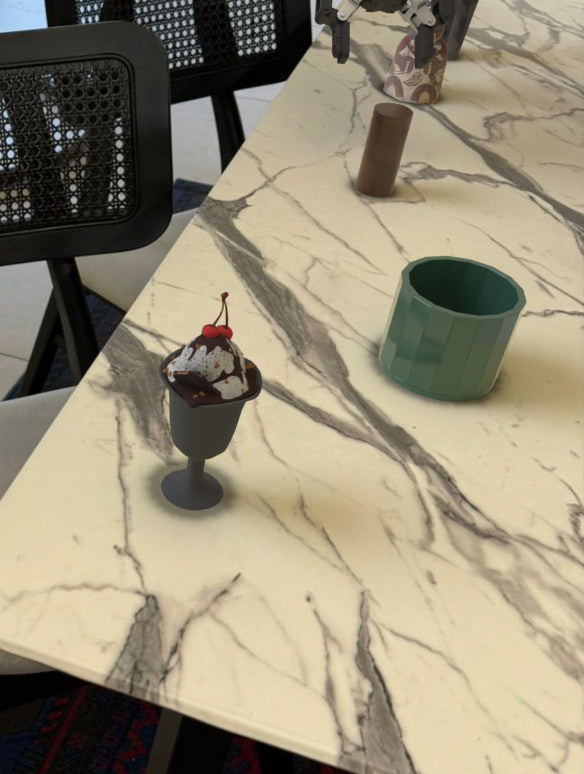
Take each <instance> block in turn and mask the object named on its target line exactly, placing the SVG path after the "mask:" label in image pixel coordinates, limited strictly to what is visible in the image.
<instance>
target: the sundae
mask: <svg viewBox="0 0 584 774" xmlns="http://www.w3.org/2000/svg"><path fill="white" fill-rule="evenodd" d="M229 296H230V295H229V292H228V291H224V292H223V293H221V294H220V297H221V310H220V312H219V315H217V317H216V319H215V320H214V321H213V323H206V324H204V325H203V327H202V328H201V331H200V334H199V335H197V336H195V337H194V338H192V339H190V341H188V342H187V343H186V344H184V345H182V346H181V347H179V348H178V349H176V350H174V351H172V352H171V353H169V354H168V355H167V356H166V357H165V358H164V359H163V361H161V363H159V367H158V376H159V378H160V380H161V381H162V383H163V384H164V386H165V387H166V388H167V390H168V399H169V400H168V405H169V407H168V416H169V420H168V421H169V431H170V436H171V442H172V443H173V445H174V446H175V447H176V449H177V450H178V451H179V452H180V453H181V454H182V455H184V456H185V457H187V463H186V468H181V469H177V470H173V471H171V472H169V473H168V474H165V476H164V477H163V478H162V480H161V482H160V490H161V493H162V495H163V496H164V498H165V499H166V501H168V502H169V503H170V504H172V505H173V506H175V507H177V508H180V509H182V510H187V511H193V512H194V511H195V512H197V511H198V512H199V511H203V510H210V509H211V508H214V507H216V506H217V505H218V504H220V502H221V501H222V500H223V497H224V488H223V486H222V485H221V483H220V482H219V480H218V479H217V478H216V477H215V476H213V475H212V474H210V473H209V472H207V471H205V464H206V461H207V460H210V459H211V460H212V459H213V458H215V457H218V456H220V455H222V454H224V453H225V452H226V451H227V449H228V448H229V445H230V443H231V441H232V439H233V437H234V435H235V432H236V429H237V427H238V423H239V422H240V417H241V415H242V412H243V409H244V408H245V405H246V404H247V402H250V401H253V400H255V399H257V398H258V397H260V394H261V392H262V389H263V378H262V372H261V370H260V369H259V367H258V366H257V365H256V364H255V363H254V362H253V361H252V360H251V359H249V358H247V357H245V356H244V353H243V352H242V349H240V347H239V346H238V344H237V343H235V342H234V341H233V340H231V339H232V338H233V336H234V332H233V329H232V327H230V326H229V310H228V305H227V302H226V299H227V298H228V297H229ZM224 309H225V310H224ZM223 312H225V313H224V314H225V318H224V319H225V322H224V323H225V324H219V325H217V323H218V322H219V320H220V318H221V317H222V315H223ZM216 325H217V326H216Z"/></svg>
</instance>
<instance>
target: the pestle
mask: <svg viewBox="0 0 584 774" xmlns="http://www.w3.org/2000/svg"><path fill="white" fill-rule="evenodd" d="M413 117H414V111H413V109H411V108H410V107H409V106H406V105H404V104H400V103H396V102H379V103H377V104H375V105H374V107H373V111H372V114H371V119H370V123H369V127H368V131H367V135H366V140H365V144H364V148H363V152H362V156H361V161H360V165H359V168H358V173H357V176H356V180H355V184H354V188H355V190H356V191H357V192H359V194H362V195H364V196H367V197H372V198H381V199H382V198H387V197H390V196H392V194H393V190H394V187H395V184H396V180H397V177H398V172H399V169H400V165H401V161H402V158H403V153H404V149H405V146H406V142H407V138H408V135H409V131H410V129H411V124H412V120H413Z"/></svg>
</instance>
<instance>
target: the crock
mask: <svg viewBox="0 0 584 774" xmlns="http://www.w3.org/2000/svg"><path fill="white" fill-rule="evenodd" d="M527 303H528V301H527V297H526V293H525V290H524V288H523V287H522V286H521V285H520V284H519V283H518V282H517V281H516V280H515V279H514V278H513V277H512V276H511V275H509V274H507V273H505V272H504V271H501V270H500V269H498V268H497V267H495V266H493V265H489V264H487V263H483V262H480V261H477V260H474V259H471V258H466V257H457V256H451V255H433V256H424V257H421V258H418V259H415V260H412V261H409V262H408V264H407V265H406V266H405V267H404V268H403V269H402V270H401V271H400V275H399V279H398V281H397V285H396V289H395V291H394V295H393V299H392V302H391V305H390V306H391V307H390V309H389V313H388V316H387V319H386V323H385V327H384V330H383V333H382V337H381V341H380V344H379V350H378V351H379V352H378V356H377V357H378V363H379V366H380V368H381V370H382V371H383V372H384V373H385V375H386V376H387V377H388V378H389V379H390V380H392V381H393V382H394V383H396V384H397V385H399V386H400V387H401V388H403V389H406V390H407V391H409V392H412V393H413V394H417V395H419V396H421V397H425V398H429V399H432V400H437V401H438V400H439V401H443V402H444V401H445V402H466V401H467V402H468V401H472V400H476V399H479V398H481V397H483V396H485V395H486V394H488V393H489V392H490V391H491V390H492V389H493V387H494V385H495V382H496V381H497V379H498V377H499V374H500V371H501V369H502V367H503V364H504V361H505V359H506V357H507V354H508V351H509V349H510V346H511V344H512V341H513V339H514V336H515V334H516V331H517V328H518V326H519V323H520V320H521V319H522V316H523V313H524V311H525V308H526V306H527Z"/></svg>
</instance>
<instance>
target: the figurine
mask: <svg viewBox="0 0 584 774" xmlns="http://www.w3.org/2000/svg"><path fill="white" fill-rule="evenodd" d="M425 1H426V6H427V7H428V9H429V10H430V11H431V0H425ZM431 13H432V11H431ZM445 27H446V26H445ZM445 27H444V29H443V30H442V31H441V32H434V44H433V45H434V53H433V56H432V58H431V59H430V60H429V62H428V63H427V64H426V65H425V66H424V67H423V69H415V36H416V35H417V33H416V32H415V30H414V29H413V30H412V31H410V32H408V33H407V34H406V35H405V36H403V38H402V39H401V40H400V41H399V43H398V45H397V47H396V50H395V53H394V56H393V59H392V62H391V65H390V67H389V70H388V72H387V75H386V77H385V81H384V85H383V92H384V93H385V94H387V95H388V96H390V97H392V98H394V99H396V100H397V101H400V102H405V103H411V104H433V103H435V102H437V101H438V99H439V96H440V93H441V91H442V87H443V81H444V75H445V72H446V67H447V64H448V63H447V62H448V60H447V56H448V51H447V45H446V43H445V41H444V39H443V38H442V36H443V33H444V30H445Z"/></svg>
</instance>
